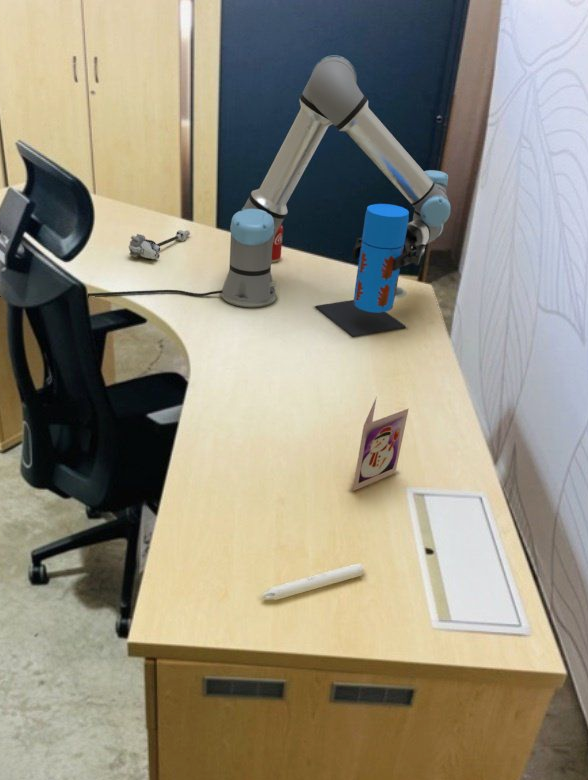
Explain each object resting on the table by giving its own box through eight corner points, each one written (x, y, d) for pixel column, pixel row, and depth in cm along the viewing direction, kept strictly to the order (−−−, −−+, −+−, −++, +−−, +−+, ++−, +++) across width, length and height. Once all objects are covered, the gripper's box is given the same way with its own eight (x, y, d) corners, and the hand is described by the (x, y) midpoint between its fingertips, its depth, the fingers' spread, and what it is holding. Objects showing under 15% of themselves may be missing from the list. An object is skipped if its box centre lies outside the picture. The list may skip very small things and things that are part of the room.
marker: (264, 606, 119) (265, 595, 117) (258, 597, 120) (259, 586, 119) (362, 577, 125) (364, 567, 124) (356, 569, 127) (358, 559, 125)
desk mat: (352, 337, 200) (353, 335, 199) (315, 307, 214) (315, 305, 213) (405, 328, 206) (405, 326, 206) (365, 299, 220) (365, 298, 220)
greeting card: (355, 493, 144) (367, 427, 135) (330, 473, 149) (340, 408, 140) (398, 475, 150) (412, 410, 141) (372, 456, 155) (384, 393, 146)
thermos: (396, 301, 205) (413, 208, 190) (388, 316, 196) (405, 219, 182) (357, 293, 207) (371, 201, 193) (348, 307, 199) (361, 212, 184)
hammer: (201, 227, 252) (154, 246, 228) (198, 246, 256) (151, 267, 232) (176, 217, 254) (126, 236, 231) (173, 237, 258) (124, 257, 234)
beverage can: (280, 263, 240) (283, 226, 233) (260, 262, 240) (263, 224, 233) (280, 256, 245) (283, 219, 238) (261, 255, 245) (263, 218, 238)
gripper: (446, 262, 204) (413, 285, 188) (370, 241, 214) (332, 262, 198) (452, 234, 199) (418, 256, 184) (374, 214, 209) (335, 234, 194)
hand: (373, 259), depth 191 cm, fingers closed on thermos, 11 cm apart
